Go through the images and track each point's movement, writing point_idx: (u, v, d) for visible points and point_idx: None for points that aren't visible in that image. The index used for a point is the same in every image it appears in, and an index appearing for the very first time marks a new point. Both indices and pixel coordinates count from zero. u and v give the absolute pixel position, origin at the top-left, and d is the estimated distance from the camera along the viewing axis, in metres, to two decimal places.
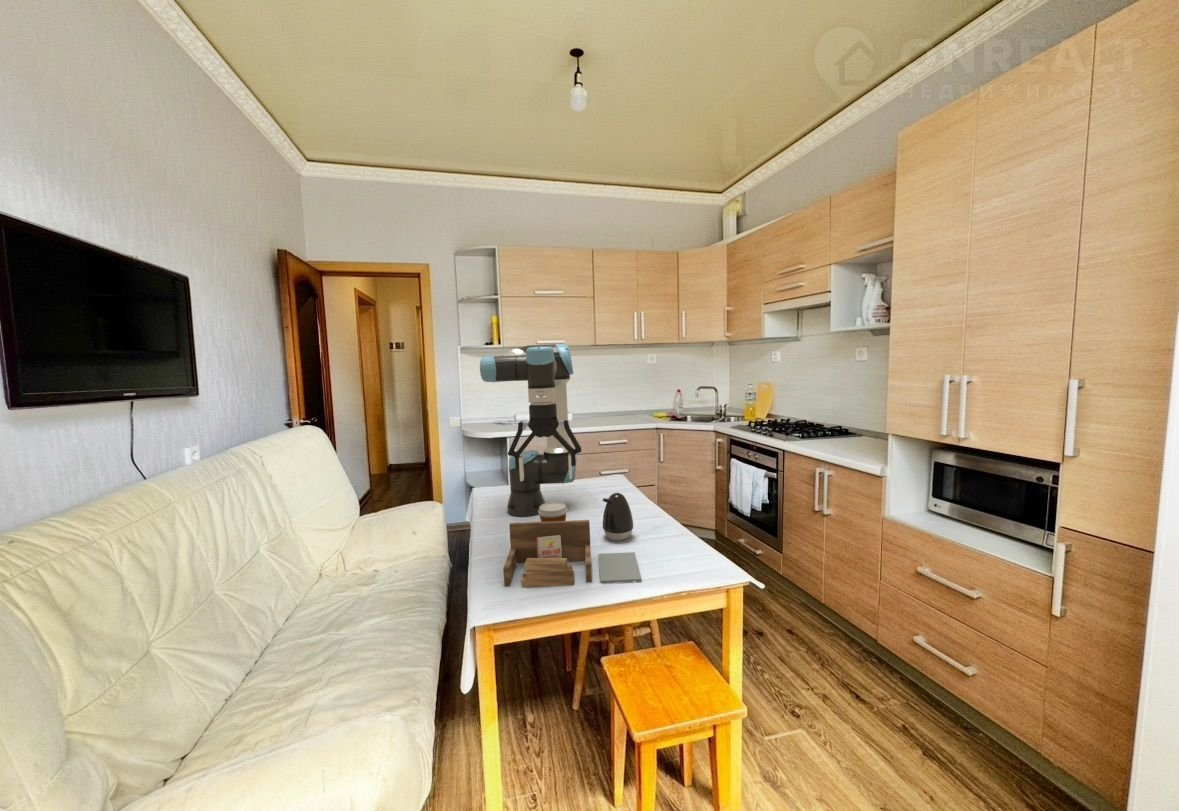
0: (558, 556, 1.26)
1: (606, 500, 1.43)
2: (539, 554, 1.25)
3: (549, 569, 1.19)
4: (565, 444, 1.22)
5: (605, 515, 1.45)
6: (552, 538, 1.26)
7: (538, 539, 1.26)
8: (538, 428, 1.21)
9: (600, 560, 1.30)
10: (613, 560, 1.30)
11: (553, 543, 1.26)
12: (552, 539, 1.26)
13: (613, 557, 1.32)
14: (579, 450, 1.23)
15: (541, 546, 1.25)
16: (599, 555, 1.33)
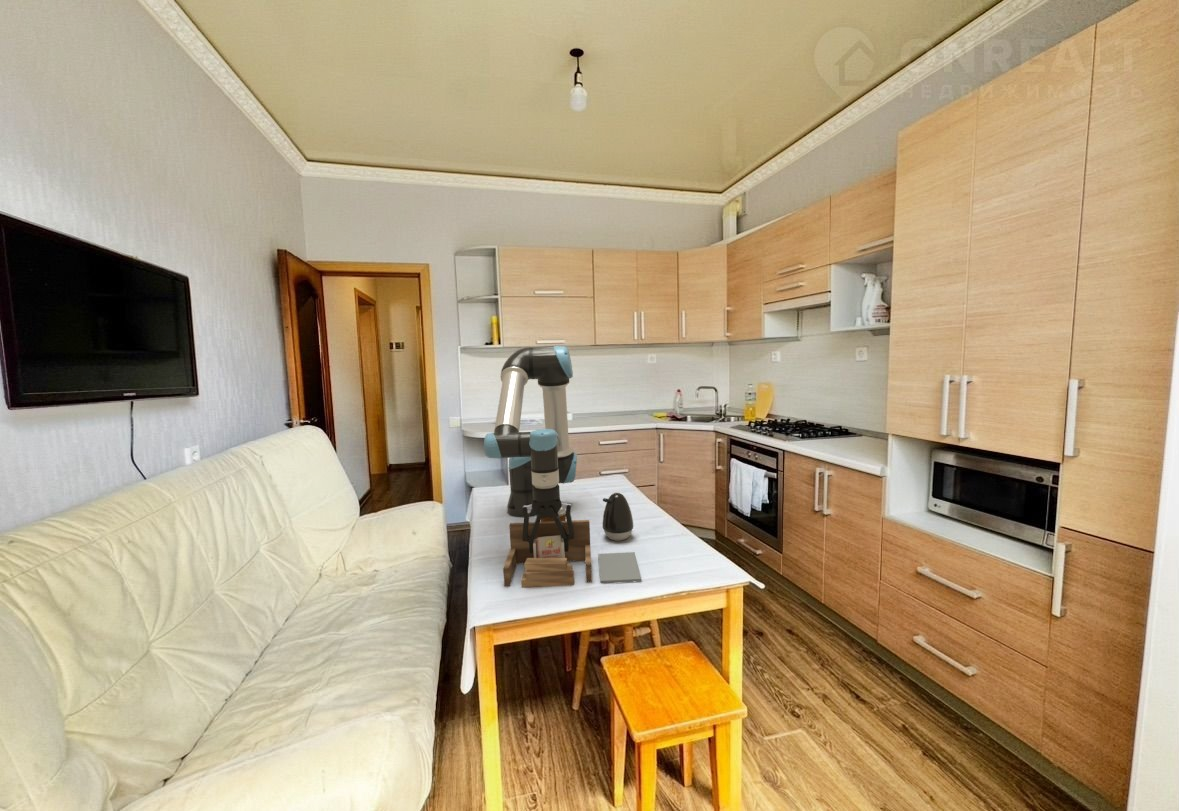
0: (558, 556, 1.26)
1: (606, 500, 1.43)
2: (539, 554, 1.25)
3: (549, 569, 1.19)
4: (561, 529, 1.25)
5: (605, 515, 1.45)
6: (552, 538, 1.26)
7: (538, 539, 1.26)
8: (542, 510, 1.23)
9: (600, 560, 1.30)
10: (613, 560, 1.30)
11: (553, 543, 1.26)
12: (552, 539, 1.26)
13: (613, 557, 1.32)
14: (572, 537, 1.25)
15: (541, 546, 1.25)
16: (599, 555, 1.33)
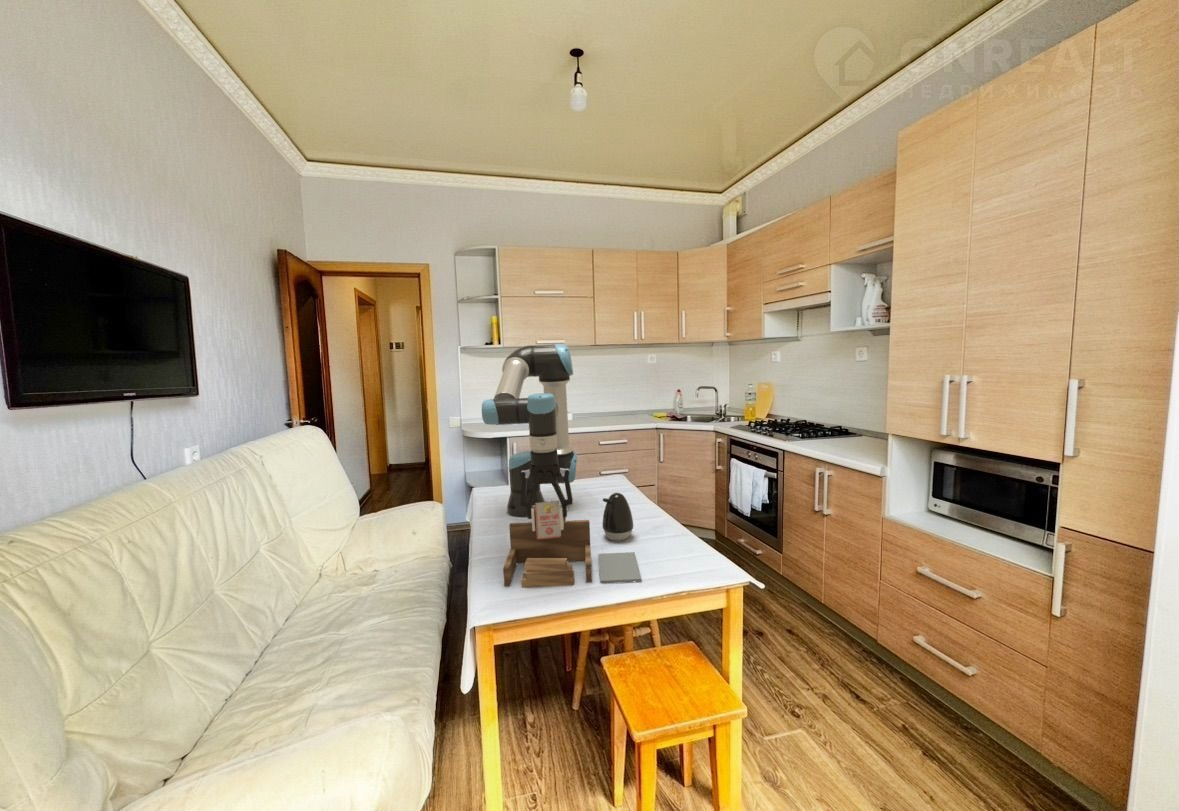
0: (556, 521, 1.25)
1: (606, 500, 1.43)
2: (537, 519, 1.24)
3: (549, 569, 1.19)
4: (559, 494, 1.24)
5: (605, 515, 1.45)
6: (550, 503, 1.25)
7: (536, 504, 1.25)
8: (540, 475, 1.22)
9: (600, 560, 1.30)
10: (613, 560, 1.30)
11: (551, 508, 1.25)
12: (550, 504, 1.25)
13: (613, 557, 1.32)
14: (570, 502, 1.24)
15: (539, 511, 1.24)
16: (599, 555, 1.33)
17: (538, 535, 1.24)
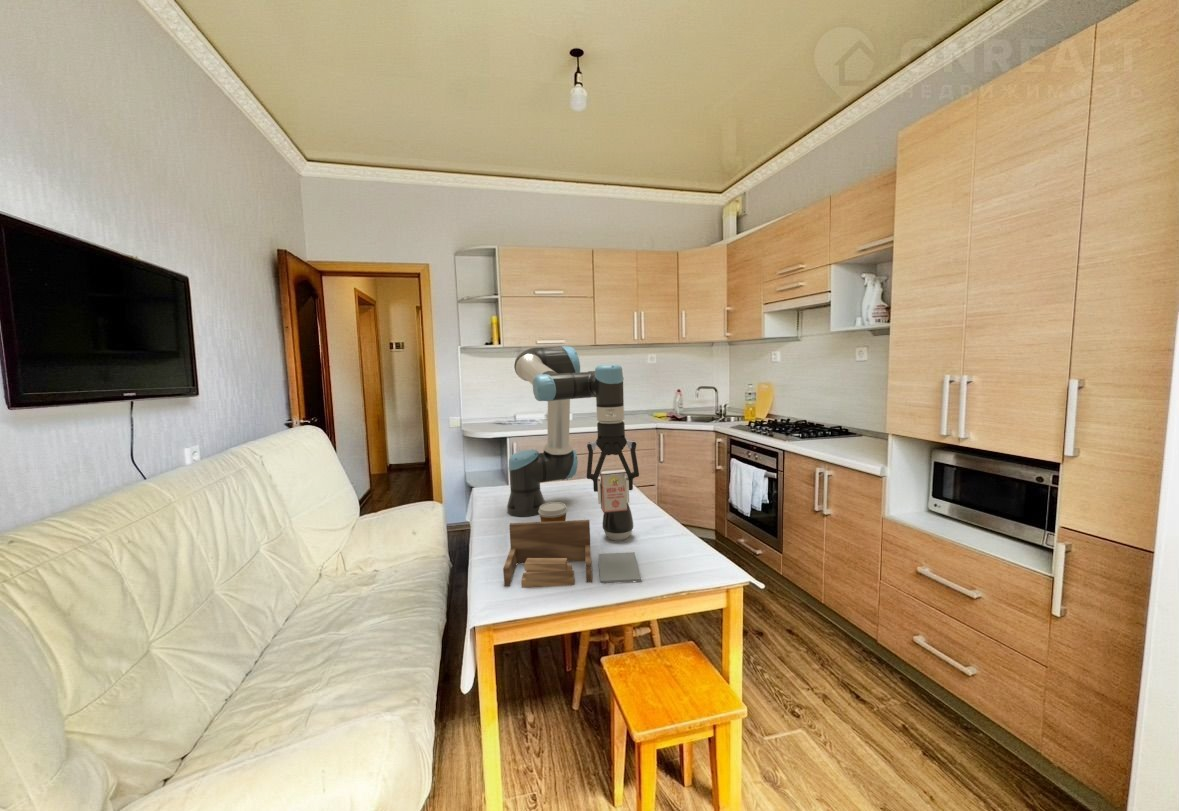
0: (623, 494, 1.23)
1: None
2: (604, 492, 1.23)
3: (549, 569, 1.19)
4: (626, 467, 1.23)
5: (605, 515, 1.45)
6: (616, 476, 1.24)
7: (602, 477, 1.24)
8: (607, 446, 1.21)
9: (600, 560, 1.30)
10: (613, 560, 1.30)
11: (617, 481, 1.24)
12: (616, 477, 1.24)
13: (613, 557, 1.32)
14: (637, 474, 1.23)
15: (605, 484, 1.23)
16: (599, 555, 1.33)
17: (604, 508, 1.23)
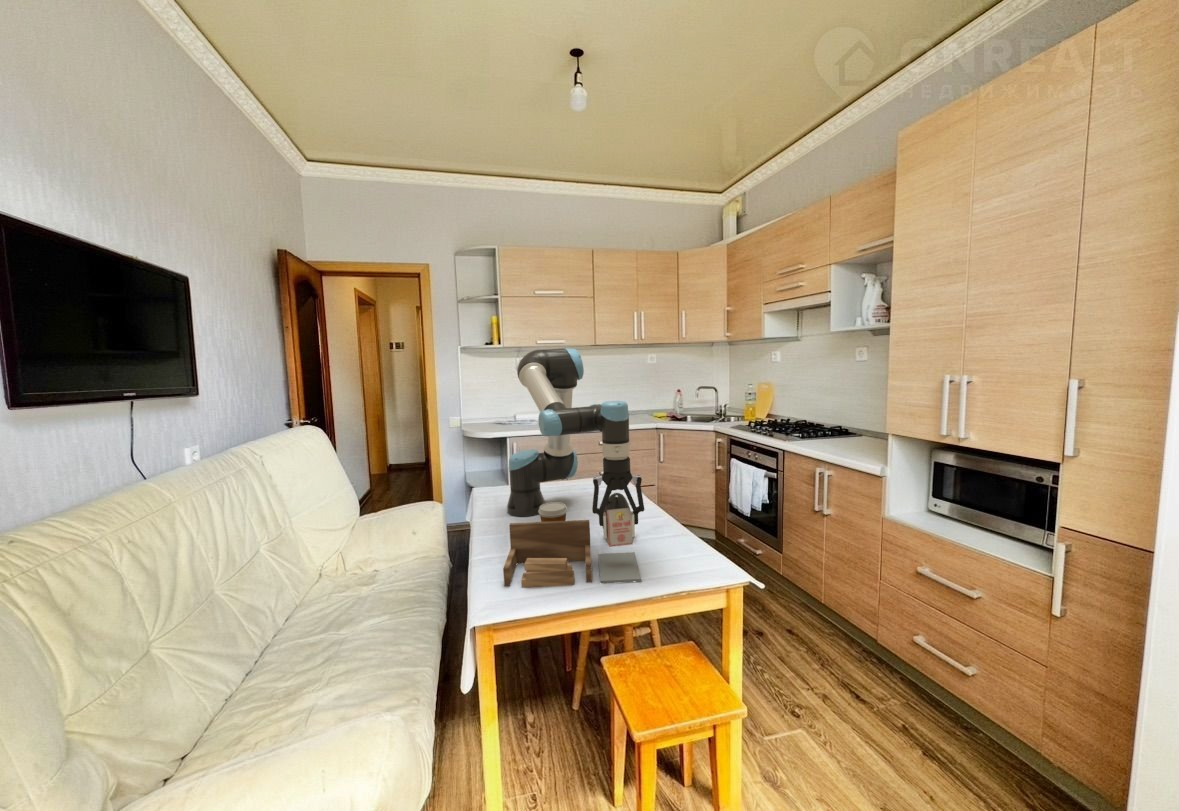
0: (628, 528, 1.25)
1: None
2: (610, 526, 1.24)
3: (549, 569, 1.19)
4: (632, 501, 1.24)
5: None
6: (622, 511, 1.25)
7: (608, 511, 1.25)
8: (613, 482, 1.23)
9: (600, 560, 1.30)
10: (613, 560, 1.30)
11: (623, 515, 1.25)
12: (622, 512, 1.25)
13: (613, 557, 1.32)
14: (642, 509, 1.25)
15: (611, 518, 1.25)
16: (599, 555, 1.33)
17: (610, 542, 1.24)
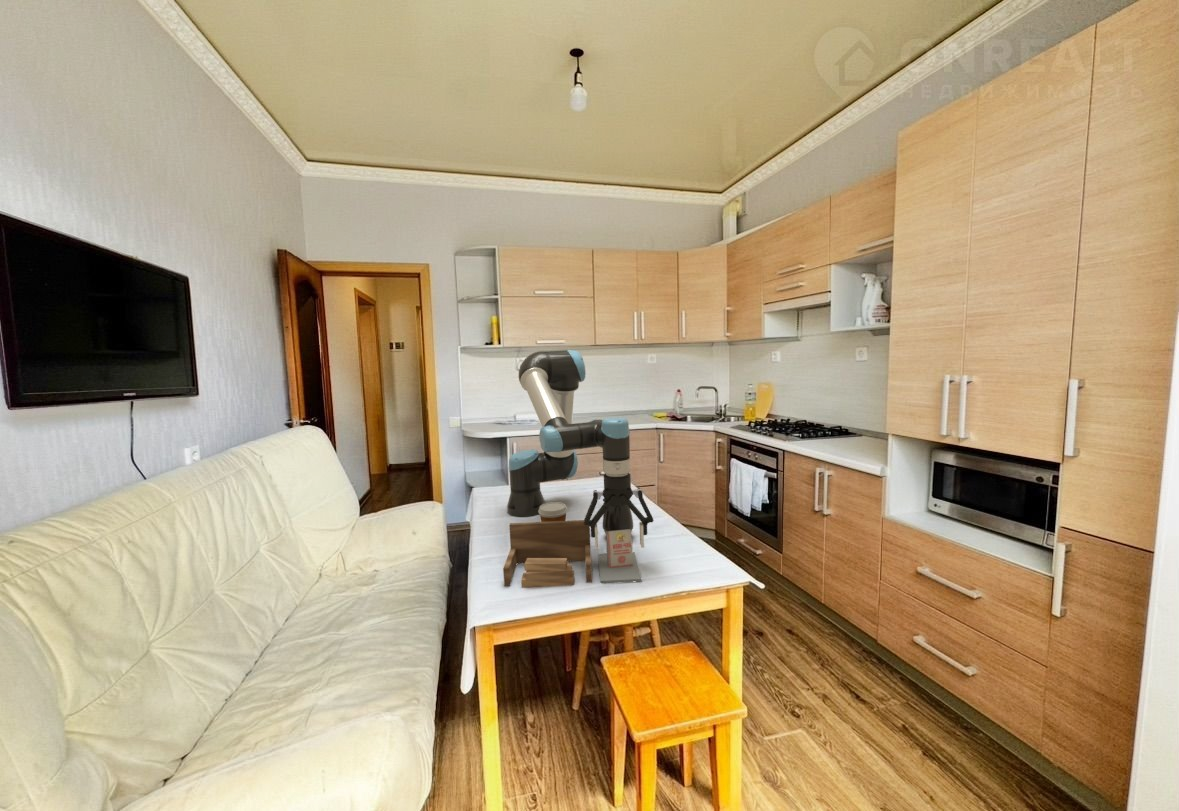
0: (629, 550, 1.26)
1: None
2: (610, 548, 1.25)
3: (549, 569, 1.19)
4: (638, 514, 1.25)
5: (605, 515, 1.45)
6: (622, 532, 1.26)
7: (609, 533, 1.26)
8: (613, 498, 1.23)
9: (600, 560, 1.30)
10: None
11: (623, 537, 1.26)
12: (622, 533, 1.26)
13: None
14: (651, 520, 1.25)
15: (611, 540, 1.25)
16: (599, 555, 1.33)
17: (611, 563, 1.25)
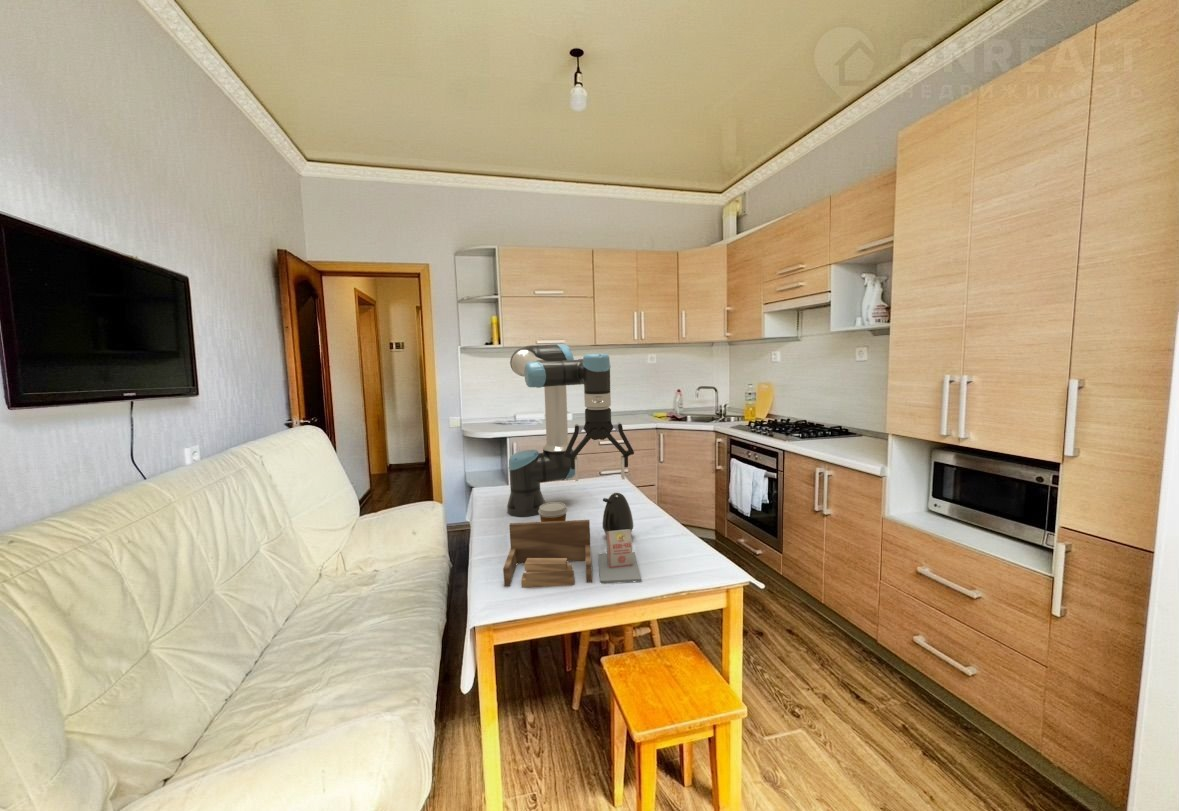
0: (629, 550, 1.26)
1: (606, 500, 1.43)
2: (610, 548, 1.25)
3: (549, 569, 1.19)
4: (619, 446, 1.29)
5: (605, 515, 1.45)
6: (622, 532, 1.26)
7: (609, 533, 1.26)
8: (594, 431, 1.27)
9: (600, 560, 1.30)
10: None
11: (623, 537, 1.26)
12: (622, 533, 1.26)
13: None
14: (632, 452, 1.29)
15: (611, 540, 1.25)
16: (599, 555, 1.33)
17: (611, 563, 1.25)
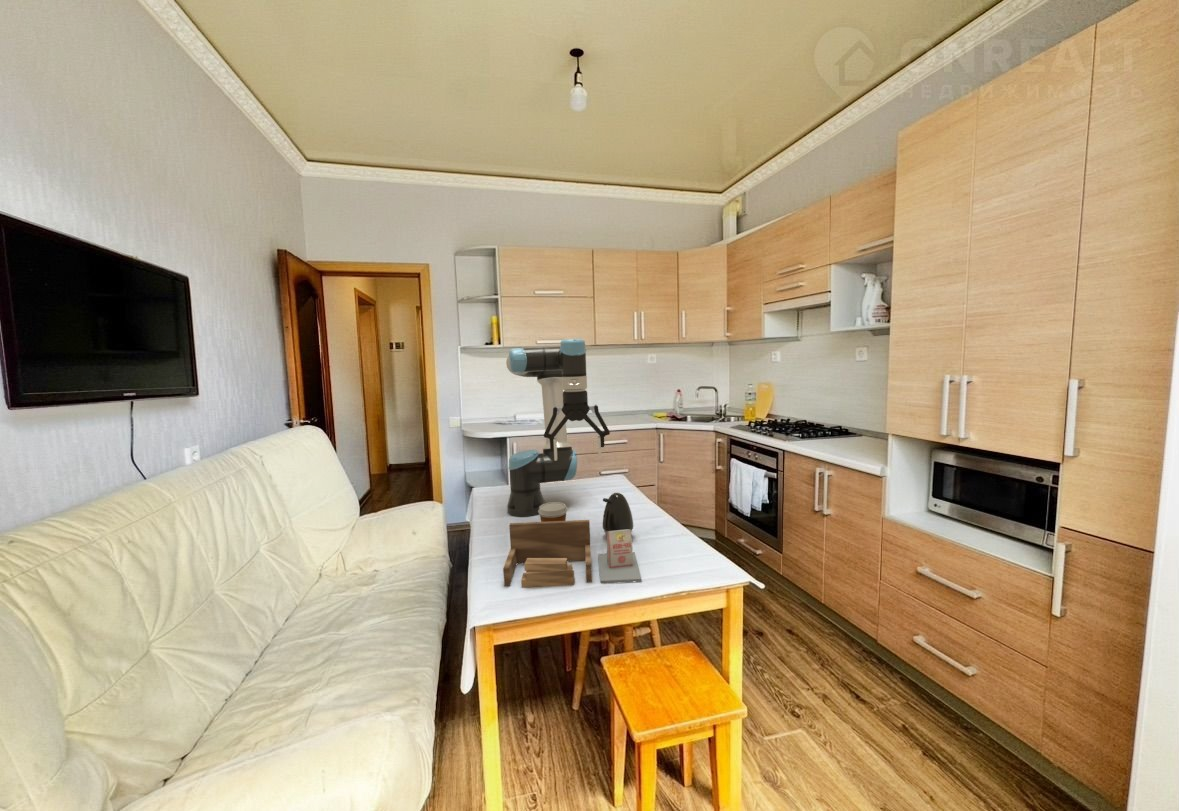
0: (629, 550, 1.26)
1: (606, 500, 1.43)
2: (610, 548, 1.25)
3: (549, 569, 1.19)
4: (595, 427, 1.36)
5: (605, 515, 1.45)
6: (622, 532, 1.26)
7: (609, 533, 1.26)
8: (571, 412, 1.34)
9: (600, 560, 1.30)
10: None
11: (623, 537, 1.26)
12: (622, 533, 1.26)
13: None
14: (608, 432, 1.36)
15: (611, 540, 1.25)
16: (599, 555, 1.33)
17: (611, 563, 1.25)
